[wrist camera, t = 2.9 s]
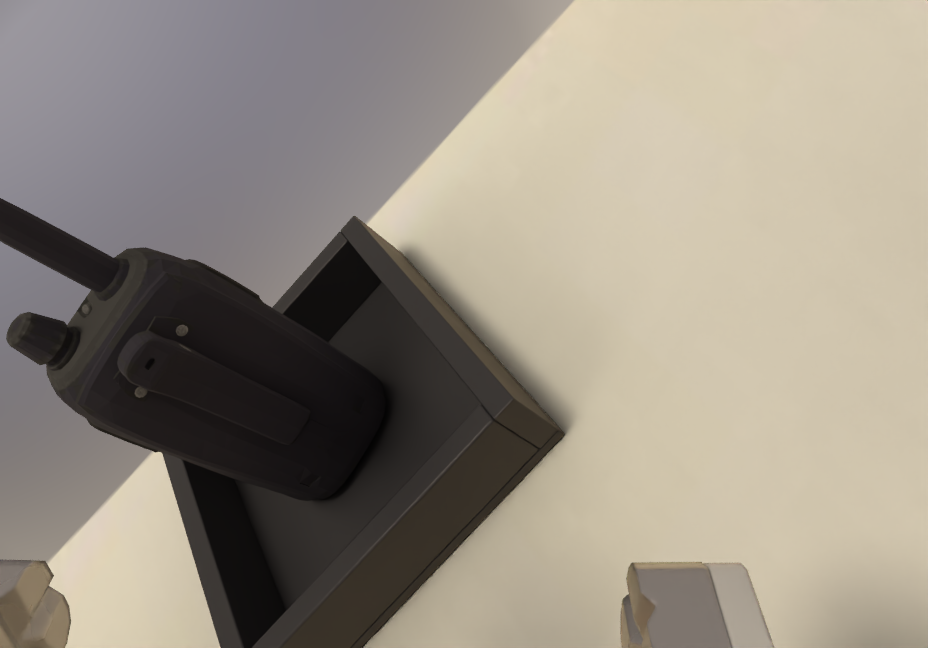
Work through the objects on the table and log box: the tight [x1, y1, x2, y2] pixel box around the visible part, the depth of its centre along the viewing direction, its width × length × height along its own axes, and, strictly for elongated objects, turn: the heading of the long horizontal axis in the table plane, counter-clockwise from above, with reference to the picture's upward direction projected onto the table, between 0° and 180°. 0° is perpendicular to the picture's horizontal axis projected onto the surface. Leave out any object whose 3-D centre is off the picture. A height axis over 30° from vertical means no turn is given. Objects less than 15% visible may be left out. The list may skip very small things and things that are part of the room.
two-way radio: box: [0, 198, 386, 501], centre depth 22 cm, size 6×4×15 cm
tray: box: [162, 216, 564, 648], centre depth 26 cm, size 12×12×3 cm
